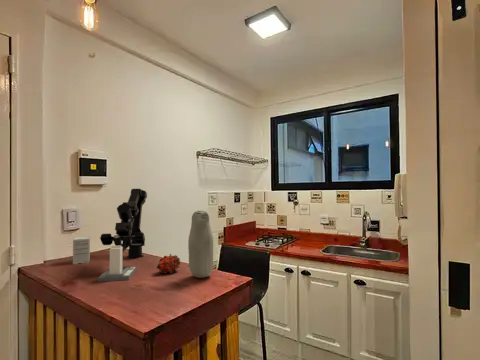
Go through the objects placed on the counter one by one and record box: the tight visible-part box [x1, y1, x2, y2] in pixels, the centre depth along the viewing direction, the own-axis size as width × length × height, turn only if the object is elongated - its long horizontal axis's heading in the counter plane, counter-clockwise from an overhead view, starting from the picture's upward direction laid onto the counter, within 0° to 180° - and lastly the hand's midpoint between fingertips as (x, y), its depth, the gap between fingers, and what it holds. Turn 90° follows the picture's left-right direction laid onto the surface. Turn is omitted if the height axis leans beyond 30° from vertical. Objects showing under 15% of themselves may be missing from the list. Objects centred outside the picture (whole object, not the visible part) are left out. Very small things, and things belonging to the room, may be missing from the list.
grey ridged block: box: [72, 236, 91, 265], centre depth 142 cm, size 7×7×13 cm
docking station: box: [97, 265, 137, 283], centre depth 118 cm, size 14×12×2 cm
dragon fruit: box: [156, 253, 181, 274], centre depth 122 cm, size 8×8×12 cm
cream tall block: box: [109, 245, 124, 274], centre depth 115 cm, size 4×4×12 cm
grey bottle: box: [187, 210, 214, 279], centre depth 116 cm, size 10×10×28 cm
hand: (119, 254), depth 121 cm, fingers closed
